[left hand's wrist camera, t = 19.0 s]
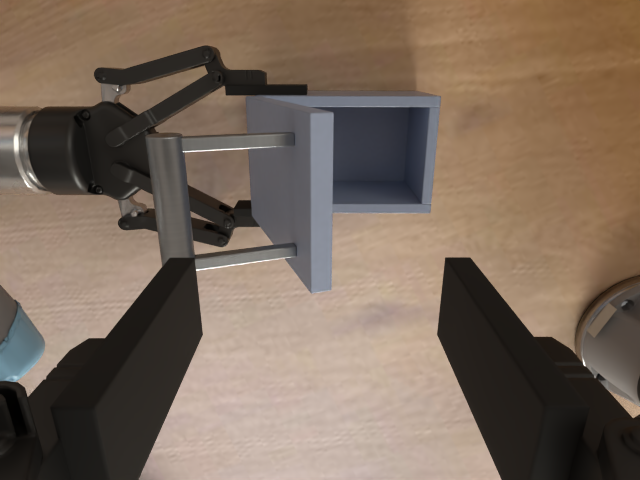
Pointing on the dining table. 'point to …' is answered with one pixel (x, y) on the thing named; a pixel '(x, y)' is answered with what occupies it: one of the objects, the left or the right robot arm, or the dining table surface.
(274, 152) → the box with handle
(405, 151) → the chest
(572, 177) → the dining table surface
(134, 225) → the right robot arm
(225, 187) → the dining table surface
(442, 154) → the dining table surface
